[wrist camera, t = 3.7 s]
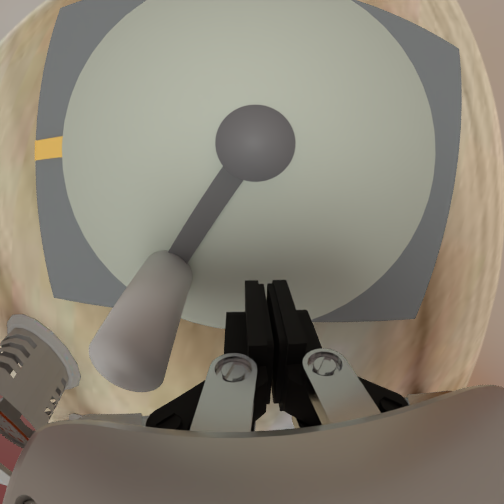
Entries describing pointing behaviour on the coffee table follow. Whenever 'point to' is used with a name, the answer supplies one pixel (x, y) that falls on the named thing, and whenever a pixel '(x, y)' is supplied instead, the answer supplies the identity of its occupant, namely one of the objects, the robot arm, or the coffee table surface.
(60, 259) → the board
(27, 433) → the french press
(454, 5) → the coffee table surface
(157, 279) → the dial
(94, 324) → the coffee table surface
